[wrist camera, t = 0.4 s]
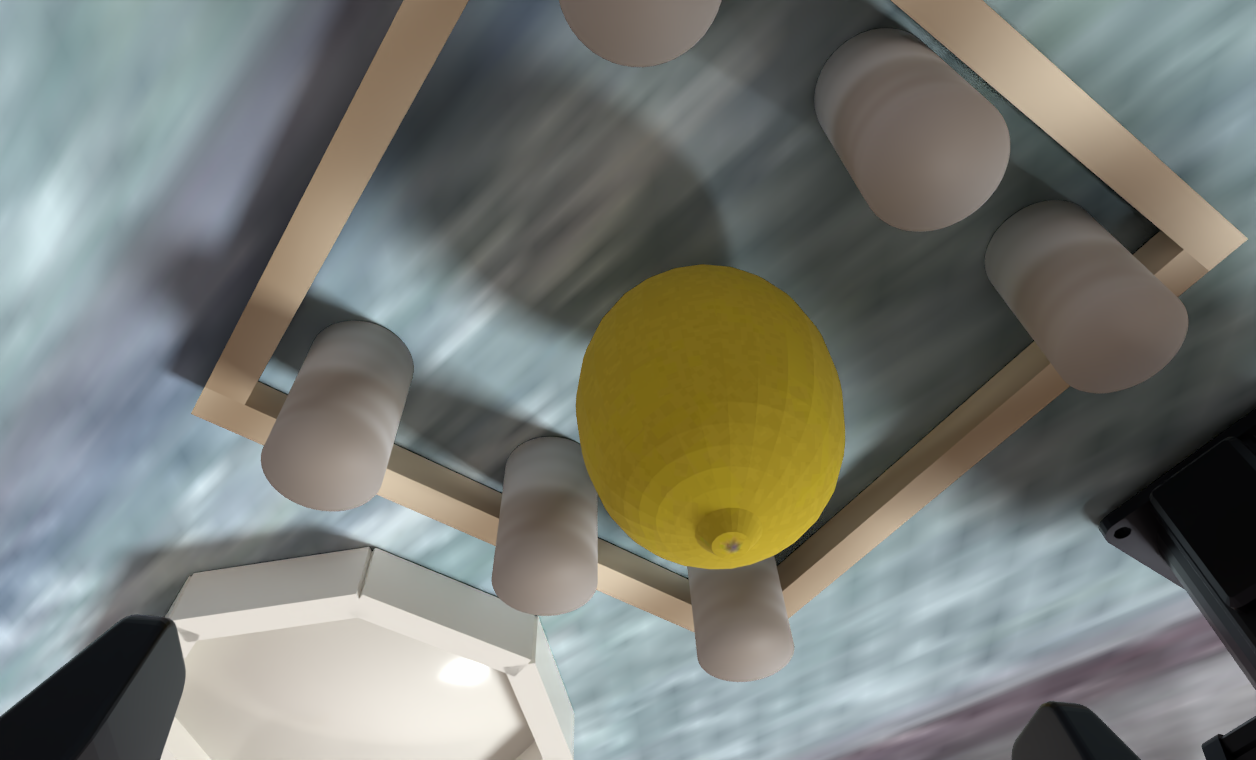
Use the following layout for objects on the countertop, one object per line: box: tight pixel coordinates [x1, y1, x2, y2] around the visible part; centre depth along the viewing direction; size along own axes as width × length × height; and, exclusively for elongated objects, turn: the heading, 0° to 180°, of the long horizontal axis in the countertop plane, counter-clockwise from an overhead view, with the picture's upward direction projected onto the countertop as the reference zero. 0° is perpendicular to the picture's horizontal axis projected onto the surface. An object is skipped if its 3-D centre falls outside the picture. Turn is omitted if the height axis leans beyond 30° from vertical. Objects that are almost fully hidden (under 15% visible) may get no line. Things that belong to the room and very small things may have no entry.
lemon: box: [576, 264, 845, 569], centre depth 18 cm, size 6×6×8 cm
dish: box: [160, 547, 574, 760], centre depth 30 cm, size 14×14×2 cm
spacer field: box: [191, 0, 1248, 682], centre depth 20 cm, size 18×18×4 cm
